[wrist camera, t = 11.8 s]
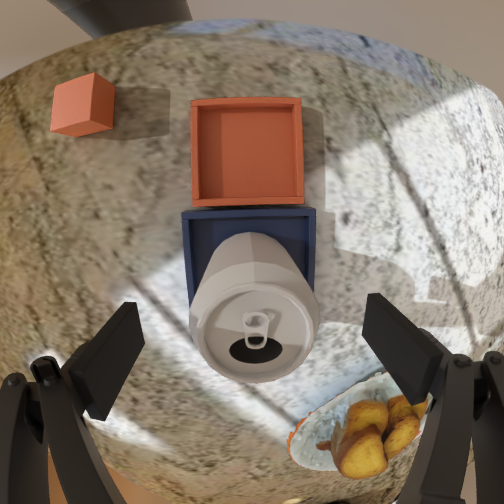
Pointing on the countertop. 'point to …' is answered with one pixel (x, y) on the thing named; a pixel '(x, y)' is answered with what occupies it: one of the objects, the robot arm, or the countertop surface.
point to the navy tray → (247, 220)
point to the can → (253, 311)
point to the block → (83, 106)
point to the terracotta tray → (247, 151)
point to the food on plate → (358, 429)
